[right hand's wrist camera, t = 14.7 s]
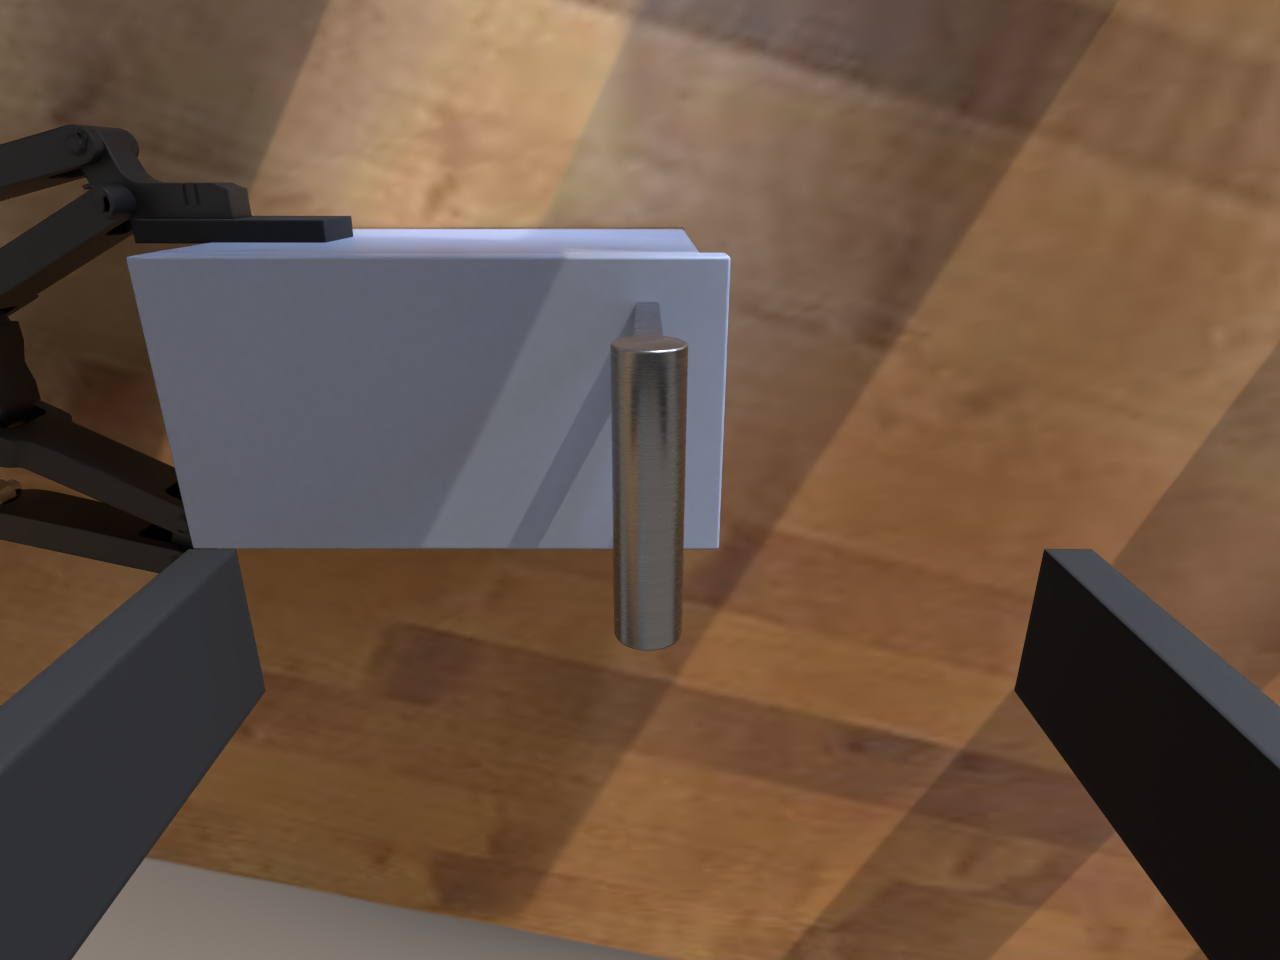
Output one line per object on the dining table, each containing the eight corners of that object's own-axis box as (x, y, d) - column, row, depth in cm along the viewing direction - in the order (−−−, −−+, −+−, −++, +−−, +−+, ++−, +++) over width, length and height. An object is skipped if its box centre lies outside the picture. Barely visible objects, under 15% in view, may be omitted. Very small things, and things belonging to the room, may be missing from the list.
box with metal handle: (726, 252, 23) (771, 295, 15) (715, 534, 27) (747, 691, 19) (149, 252, 23) (-112, 294, 15) (211, 533, 27) (25, 689, 19)
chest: (683, 227, 34) (700, 251, 23) (679, 433, 37) (692, 533, 27) (300, 227, 34) (150, 251, 24) (331, 432, 37) (212, 532, 27)
